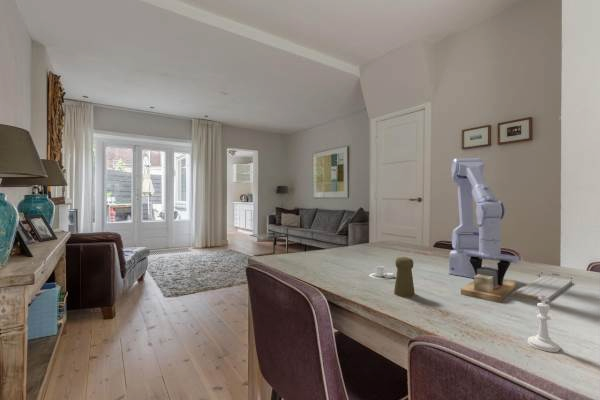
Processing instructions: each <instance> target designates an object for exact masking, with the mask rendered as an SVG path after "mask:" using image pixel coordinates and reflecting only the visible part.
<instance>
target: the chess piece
mask: <svg viewBox="0 0 600 400" xmlns="http://www.w3.org/2000/svg"><path fill="white" fill-rule="evenodd" d="M538 299H539V300H538V301H540V300H542V301H541V302H538V303H537V304H536V306H537V309H538V312H539V313H537V315H536V318H538V319H539V327H538V333H537V334H536V335H533V336H531V335H530V336H529V337H528V338H527V344H528V345H530V346H531V347H533V348H535V349H537V350H540V351H545V352H549V353H557V352H560V351H561V347H560V344H558V342H556V341H554V340H553V339H552V338H551V337H550V336H549V329H548V321H550V320H551V317H550V316H548V313H549V310H550V308H551V305H550V304H548V303H549V302H550V300H549V299H546V298H545V295H542V297H538ZM545 301H546V302H545ZM559 350H560V351H559Z"/></svg>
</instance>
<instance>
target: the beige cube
mask: <svg viewBox="0 0 600 400" xmlns="http://www.w3.org/2000/svg"><path fill="white" fill-rule="evenodd" d="M473 281H474V290H478V291H483V292H488V293H490V292H491V291H493V276H487V275H481V274H478V275H476V276H474V278H473Z"/></svg>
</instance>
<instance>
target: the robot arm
mask: <svg viewBox="0 0 600 400" xmlns="http://www.w3.org/2000/svg"><path fill="white" fill-rule="evenodd" d="M450 169H451V171H450V172H451V178H452V182H454V183H456V186H457V201H458V214H459V219H458V220H459V225H458V226H457V227H455V228H454V229H453V230H452V232H451V233H452V234H451V245H452V248H453V249H452V250H450V253H449V255H448V256H449V263H448V269H449V270H448V274H449V275H454V276H460V277H461V276H462V277H465V278H471V279H474V276H476V275H477V269H479V268H481V267H483V266H482V265H483V260H488V261H489V260H490V261H496V262H497V264H496V265H497V268H498V285H500V286H501V285H502V283H503V279H504V278H505V275H506V273H507V271H508V269H509V268H510V265H511V263H512V264H515V265H516V264H519V256H518V255H510V254H507V253H506V254H504V253H502V252H501V251H502V250H501V249H502V247H501V246H502V245H501V237H502V236H501V234H502V232H501V230H502V227H501V226H502V224H501V223H502V221H501V220H503V219H504V217H505V214H506V213H505V212H506V211H505V210H506V209H505V205H504V202H503V201H501V200H500V199H498V198H496V195H495V194H494V191H493V189H492V187H491V186H490V185H489V184H486V182H485V179H484V176H483V173H484V170H485V160H484V159H483V158H482V157H474V158H472V157H471V158H467V157H466V158H456V157H455V158H454V159H453V160H452V162H451V167H450ZM473 201H474V202H475V205H476V207H475V214H474V203H473ZM475 215H476V219H477V222H476V223H477V225H478V226H477V225H475ZM504 280H505V279H504Z"/></svg>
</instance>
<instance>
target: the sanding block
mask: <svg viewBox="0 0 600 400" xmlns="http://www.w3.org/2000/svg"><path fill="white" fill-rule="evenodd" d="M478 274H481V275H487V276H493V288H494V289H496V288H498V287H499V286H500V285H498V267H496V266H495V267H494V266H487V265H484V266H482V267H481V268H479V269H477V275H478ZM502 285H503V283H502Z"/></svg>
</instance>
